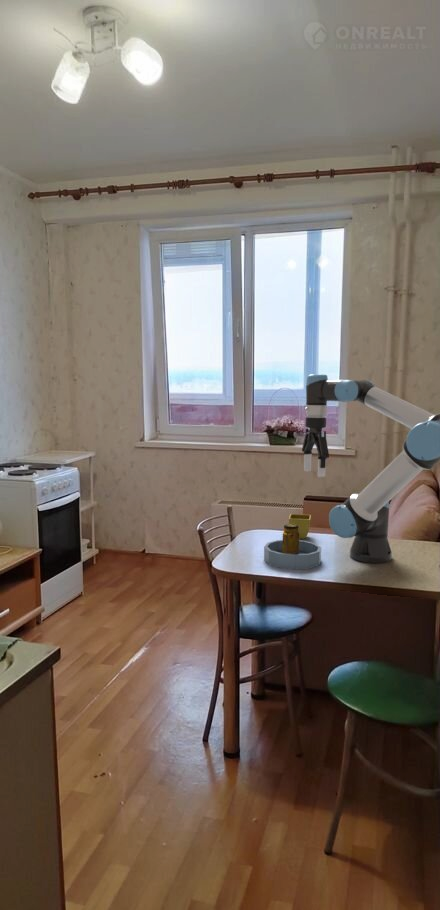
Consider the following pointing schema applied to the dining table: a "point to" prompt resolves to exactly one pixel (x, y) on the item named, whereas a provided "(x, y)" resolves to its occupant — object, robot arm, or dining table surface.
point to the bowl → (293, 555)
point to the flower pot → (301, 523)
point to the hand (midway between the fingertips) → (314, 474)
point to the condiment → (290, 539)
